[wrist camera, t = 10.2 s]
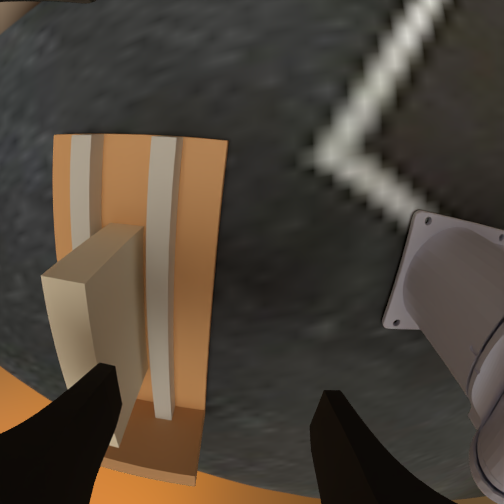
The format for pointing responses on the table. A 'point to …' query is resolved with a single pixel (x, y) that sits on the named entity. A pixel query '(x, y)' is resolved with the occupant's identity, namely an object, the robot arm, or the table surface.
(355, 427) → the robot arm
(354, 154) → the table surface
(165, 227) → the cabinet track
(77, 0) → the phone
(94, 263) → the door panel
